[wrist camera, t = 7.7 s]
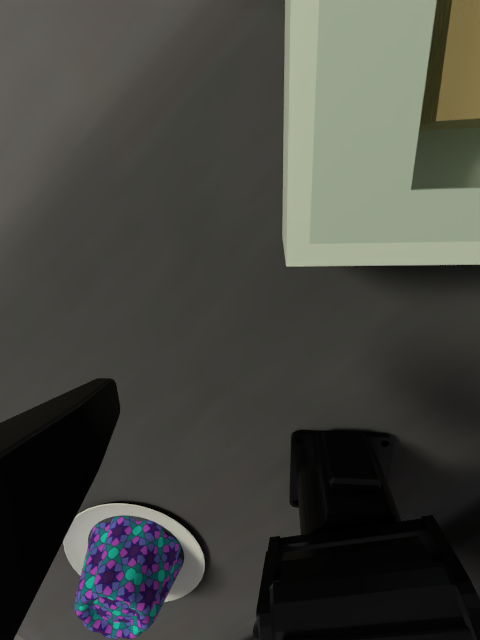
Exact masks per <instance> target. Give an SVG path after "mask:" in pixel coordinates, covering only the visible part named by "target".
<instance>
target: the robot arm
mask: <svg viewBox="0 0 480 640" xmlns="http://www.w3.org/2000/svg"><path fill="white" fill-rule="evenodd" d="M119 414H120V403H119V397H118V392H117V386H116V383H115V381H114V380H113V379H110V378H98V379H95V380H93V381H90V382H88V383H86V384H84V385H82V386H80V387H77V388H75V389H73V390H71V391H69V392H66V393H64V394H62V395H60V396H58V397H56V398H53V399H51V400H49V401H47V402H45V403H43V404H40V405H38V406H36V407H34V408H32V409H29V410H27V411H25V412H23V413H21V414H19V415H16V416H14V417H12V418H10V419H8V420H6V421H3V422H1V423H0V640H14V637H15V635H16V634H17V632H18V630H19V628H20V626H21V624H22V622H23V620H24V618H25V616H26V614H27V612H28V610H29V608H30V606H31V604H32V602H33V600H34V598H35V596H36V594H37V592H38V590H39V588H40V586H41V584H42V582H43V580H44V578H45V576H46V574H47V572H48V570H49V568H50V566H51V564H52V562H53V560H54V558H55V556H56V554H57V552H58V550H59V548H60V546H61V544H62V542H63V540H64V538H65V536H66V534H67V532H68V530H69V528H70V526H71V524H72V522H73V520H74V518H75V516H76V514H77V512H78V510H79V508H80V506H81V504H82V502H83V500H84V498H85V496H86V494H87V492H88V490H89V488H90V486H91V485H92V483H93V481H94V479H95V476H96V474H97V472H98V470H99V468H100V465H101V463H102V461H103V458H104V455H105V453H106V450H107V447H108V445H109V442H110V439H111V436H112V434H113V431H114V428H115V426H116V423H117V420H118V418H119ZM296 438H302V439H300V440H298V439H296ZM385 440H386V442H384V443H382V441H385ZM392 448H393V441H392V438H391V437H390V435H388V434H385V433H359V432H328V431H295V432H293V433H292V435H291V461H290V504H291V505H292V506H293V507H298V508H299V515H300V528H301V535H298V536H290V537H283V538H280V536H276V537H270V540H269V546H268V551H266V556H265V562H264V568H263V574H262V580H261V586H260V592H259V598H258V604H257V611H256V617H257V619H256V622H255V625H254V628H253V638H254V640H480V599H479V597H478V595H477V593H476V590H475V588H474V586H473V584H472V582H471V580H470V578H469V577H468V575H467V573H466V571H465V569H464V568H463V566H462V564H461V563H460V561H459V559H458V558H457V556H456V554H455V553H454V551H453V549H452V547H451V546H450V544H449V542H448V541H447V539H446V537H445V536H444V534H443V532H442V531H441V529H440V527H439V525H438V524H437V522H436V520H435V519H434V517H433V515H429V516H422V517H421V518H422V519H415V520H408V521H401V519H400V516H399V513H398V511H397V508H396V505H395V502H394V500H393V497H392V494H391V491H390V489H389V486H388V483H387V479H388V473H389V467H390V461H391V454H392Z"/></svg>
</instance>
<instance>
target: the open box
mask: <svg viewBox="0 0 480 640" xmlns="http://www.w3.org/2000/svg"><path fill="white" fill-rule="evenodd" d="M436 2H437V0H285V61H284V142H283V223H282V237H283V245H284V253H285V261H286V266H387V265H480V127H471V128H454V129H438V130H422V131H419V127H420V119H421V112H422V105H423V97H424V90H425V83H426V75H427V68H428V61H429V53H430V46H431V39H432V31H433V24H434V17H435V9H436Z"/></svg>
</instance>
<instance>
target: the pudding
mask: <svg viewBox="0 0 480 640" xmlns="http://www.w3.org/2000/svg"><path fill="white" fill-rule="evenodd" d="M119 515H130V516H138V517H142V518H146V519H149V520H151V521H154V522H156V523H158V524H160V525H161V526H163V527H165V528H166V529H167V530H169V531H170V532H171V533H172V534H173V535H174V536H175V537H176V538H177V540H178V541H179V542H180V543H179V542H178V541H177V540H176V539H175V538H174V537H171V536H168V535H166V534H165V532H164V530H163V528H162V527H161V526H159V525H158V524H156V523H154V522H151V521H148V520H145V521H139V522H138V521H136V520H134V519H133V518H131V517H127V516H119ZM112 516H119V517H115V518H113V519H112V521H111V522H110V523H99V524H98V525H96V524H97V523H98V522H100V521H102V520H104V519H106V518H109V517H112ZM94 525H96V526H95V527H94ZM93 527H94V528H93ZM92 528H93V530H92V533H91V537H90V541H89V544H88V542H87V541H88V535H89V533H90V530H91V529H92ZM63 543H64V550H65V553H66V556H67V558H68V560H69V562H70V563H71V565H72V567H73V568H74V569H75V570H76V572H77V573H78V574H79V575H80V576H81V577H80V581H79V585H78V589H77V593H76V597H75V613H76V614H77V616H78V618H80V619H81V620H83V622H84V625H85V626H86V627H87V628H88V629H89V630H91V631H93V632H98V633H101V634H102V635H103V636H105V637H108V638H112V639H117V638H120V637H123V638H127V639H130V638H135V637H137V636H139V635H140V634H141V633H142V632H143V631H145V630H147V629H148V628H149V627H150V626H151V625H152V623H153V622H154V621H155V619H156V617H157V615H158V613H159V611H160V609H161V607H162V605H163V603H164V602H167V601H172V600H175V599H178V598H181V597H183V596H185V595H186V594H188V593H190V592H191V591H192V590H193V589H194V588H196V587H197V586H198V584H199V583H200V581H201V580H202V577H203V574H204V571H205V560H204V555H203V552H202V550H201V548H200V545H199V544H198V542H197V541H196V539H195V538H194V537H193V535H192V534H191V533H190V532H189V531H188V530H187V529H186V528H185V527H183V526H182V525H181V524H179V523H178V522H177V521H175V520H174V519H172V518H170V517H168V516H166V515H165V514H163V513H160V512H158V511H155V510H153V509H150V508H146V507H142V506H138V505H132V504H124V503H111V504H104V505H98V506H95V507H92V508H89V509H87V510H85V511H83V512H81V513H79V514H78V515H77V516H76V517H75V518H74V520H73V522H72V524H71V526H70V528H69V530H68V532H67V534H66V536H65V538H64V542H63ZM180 544H181V546H182V548H183V552H184V563H183V566H182V562H183V561H182V560H181V558H180V557H179V556H178V555H179V553H180V551H181V546H180ZM181 567H182V568H181ZM180 569H181V570H180Z"/></svg>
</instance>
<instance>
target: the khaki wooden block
mask: <svg viewBox="0 0 480 640" xmlns="http://www.w3.org/2000/svg"><path fill="white" fill-rule="evenodd" d="M471 127H480V0H437V2H436V9H435V17H434V24H433V31H432V39H431V46H430V53H429V61H428V68H427V75H426V83H425V90H424V97H423V105H422V112H421V119H420V127H419V131H422V130H438V129H454V128H471Z"/></svg>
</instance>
